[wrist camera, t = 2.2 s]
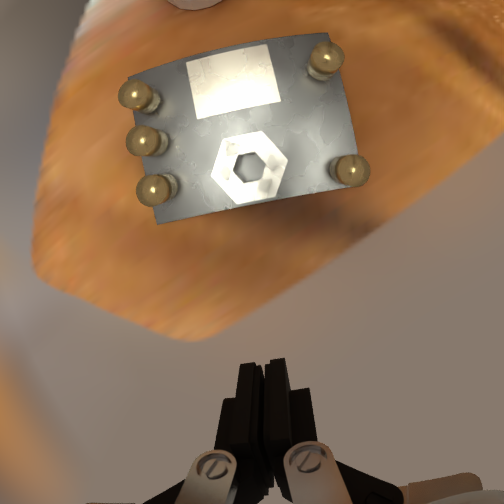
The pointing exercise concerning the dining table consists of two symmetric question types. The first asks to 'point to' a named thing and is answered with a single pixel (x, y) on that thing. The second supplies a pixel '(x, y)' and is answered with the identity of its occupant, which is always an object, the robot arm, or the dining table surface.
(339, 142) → the jig plate
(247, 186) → the steel nut
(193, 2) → the white cup
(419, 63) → the dining table surface
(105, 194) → the dining table surface
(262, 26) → the dining table surface
